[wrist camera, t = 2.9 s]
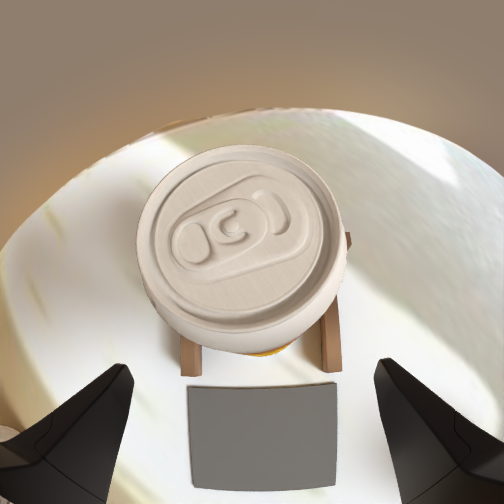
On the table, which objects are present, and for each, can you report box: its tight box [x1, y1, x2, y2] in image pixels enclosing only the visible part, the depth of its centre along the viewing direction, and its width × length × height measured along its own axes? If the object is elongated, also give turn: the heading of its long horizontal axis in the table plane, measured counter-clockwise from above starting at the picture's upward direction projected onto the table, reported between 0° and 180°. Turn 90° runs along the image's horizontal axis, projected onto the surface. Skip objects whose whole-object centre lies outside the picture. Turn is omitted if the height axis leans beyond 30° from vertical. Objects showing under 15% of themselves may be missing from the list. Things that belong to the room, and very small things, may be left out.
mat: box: [188, 383, 337, 491], centre depth 17 cm, size 9×11×1 cm
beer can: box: [136, 144, 347, 357], centre depth 14 cm, size 6×6×15 cm
